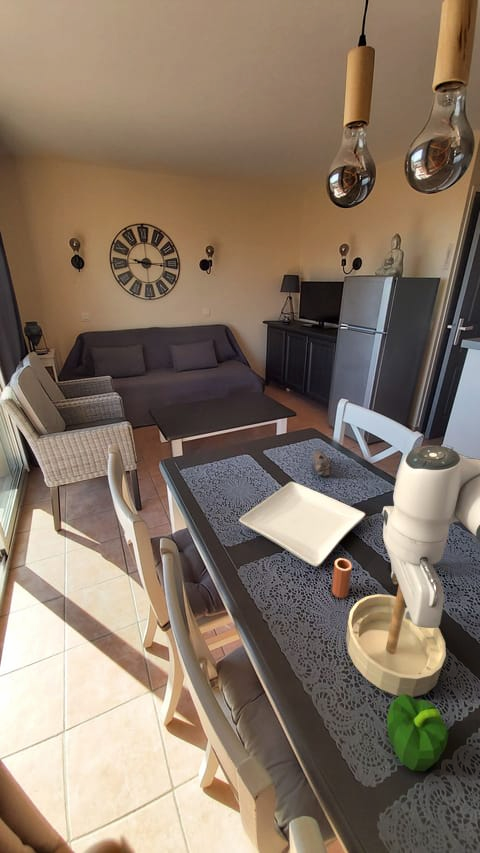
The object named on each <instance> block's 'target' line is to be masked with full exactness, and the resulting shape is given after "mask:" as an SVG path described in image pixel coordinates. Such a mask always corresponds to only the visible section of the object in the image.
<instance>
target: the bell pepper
mask: <svg viewBox="0 0 480 853" xmlns="http://www.w3.org/2000/svg"><path fill="white" fill-rule="evenodd" d="M386 726H387V733H388V740H389V744H390V745H391V746H392V747H393V748H394V752H395V755H396V757H397V758H398V759H399V761H400V763H401V764H402V765H403V766H405V767H406V768H408V769H409V770H411V771H415V772H425V771H427V770H428V769H429V768H431V767H432V766H433V765H434V764H436V763H437V762H438V761H439V760H440V757H441V755H442V754H443V753H444V752H445V749H446V747H447V743H448V740H449V738H448V737H449V735H450V734H449V730H448V728H447V726H446V724H445V722H444V720H443V718H442V716H441V713H440V710H439V709H437V707H436V706H435V704H433V703H431V702H429V701H427V700H425V699H420V700H418V701H417V700H416V699H415V698H414V697H411V696H410V695H407V694H401V695H400V696H397V697H396V698H395V699H394V700H392V702H390V706H389V708H388V712H387V716H386Z"/></svg>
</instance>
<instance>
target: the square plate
mask: <svg viewBox="0 0 480 853" xmlns="http://www.w3.org/2000/svg"><path fill="white" fill-rule="evenodd" d="M365 517H366V513H365V512H364V511H361V510H359V509H357V508H355V507H353V506H351V505H349V504H346V503H344V502H342V501H339V500H337V499H335V498H333V497H330V496H328V495H326V494H323V493H322V492H320V491H319V492H318V491H316V490H314V489H311V488H310V487H307V486H304V485H302V484H300V483H297V482H295V481H289V482H288V483H287V484H285V485H284V486H282V487H281V488H280V489H279V490H277V491H275V492H274V493H272V494H271V495H270V496H269V497H267V498H266V499H264V500H263V501H261V502H260V503H259V504H257V505H256V506H254V507H253V508H252V509H250V510H249V511H248V512H246V513H245V514H243V515H242V516H241V517H240V518H239V519H238V522H240V523H241V524H242V525H243V526H245V527H247V528H248V529H250V530H252V531H253V532H255V533H257V534H259V535H261V536H262V537H264V538H266V539H268V540H269V541H271V542H273V543H275V544H276V545H278V546H279V547H281V548H283V549H285V551H287V552H289V553H290V554H292V555H293V556H295V557H297V558H298V559H300V560H302V561H303V562H305V563H306V564H309V565H310V566H312V567H315V568H318V567H320V566H321V565H322V564H323V562H324V561H325V560H326V559H327V558H328V557H329V556H330V554H331V553H332V552H333V550H334V549H335V548H336V547H337V546H338V545H339V543H340V542H341V541H342V540H343V539H344V538H345V537H346V536H347V535H348V533H349V532H351V531H352V529H354V528H355V527H356V526H357V525H358V524H359V523H360V522H361V521H363V519H364V518H365Z"/></svg>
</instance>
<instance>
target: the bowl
mask: <svg viewBox="0 0 480 853" xmlns="http://www.w3.org/2000/svg"><path fill="white" fill-rule="evenodd" d="M395 601H396V596H394V595H391V594H380V593H378V594H377V593H376V594H372V595H367V596H364V597H363V598H361V599H360V600H358V601H357V602H355V604H354V605H353V606H352V608H351V609H350V611H349V616H348V621H347V626H346V627H347V628H346V637H345V643H346V648H347V653H348V655H349V658H350V659H351V661H352V663H353V665H354V667H355V668H356V669H357V670H358V672H360V674H361V675H362V676H363V678H364V679H366V681H368V682H369V683H371V684H372V685H374V686H375V687H377V688H378V689H380V690H381V691H383V692H386V693H388V694H392V695H394V696H397V697H399V696H400V695H401V694H407V695H410V696H411V697H413V698H414V697H419V696H422V695H426V694H427V693H429V692H430V691H431V690H433V689H434V687H436V685H437V684H438V681H439V679H440V676H441V673H442V670H443V667H444V663H445V660H446V657H447V651H446V650H447V648H446V641H445V639H444V636H443V634H442V632H441V629H440V628H439V626H438V627H437V628H424V627H418V626H415V625H414V624H413V622H412V620H407V619H405V616H403V621H402V625H401V630H400V634H399V639H398V643H397V648H396V652H395V653H394V654H390V653H389V652H388V651H387V650H386V645H387V640H388V635H389V630H390V625H391V621H392V616H393V611H394V606H395Z"/></svg>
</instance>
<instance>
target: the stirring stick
mask: <svg viewBox="0 0 480 853" xmlns="http://www.w3.org/2000/svg"><path fill="white" fill-rule="evenodd" d="M395 597H396V601H395V606H394V611H393V616H392V621H391V625H390V630H389V635H388V640H387V645H386V650H387V651H388V652H389V653H390V654H394V653H395V652H396V648H397V643H398V639H399V634H400V630H401V625H402V621H403V616H404V613H403V606H404V605H406V603H405V600H404V597H403V594H402V591H401V588H400V586H399V585H398V587H397V592H396V596H395Z"/></svg>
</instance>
